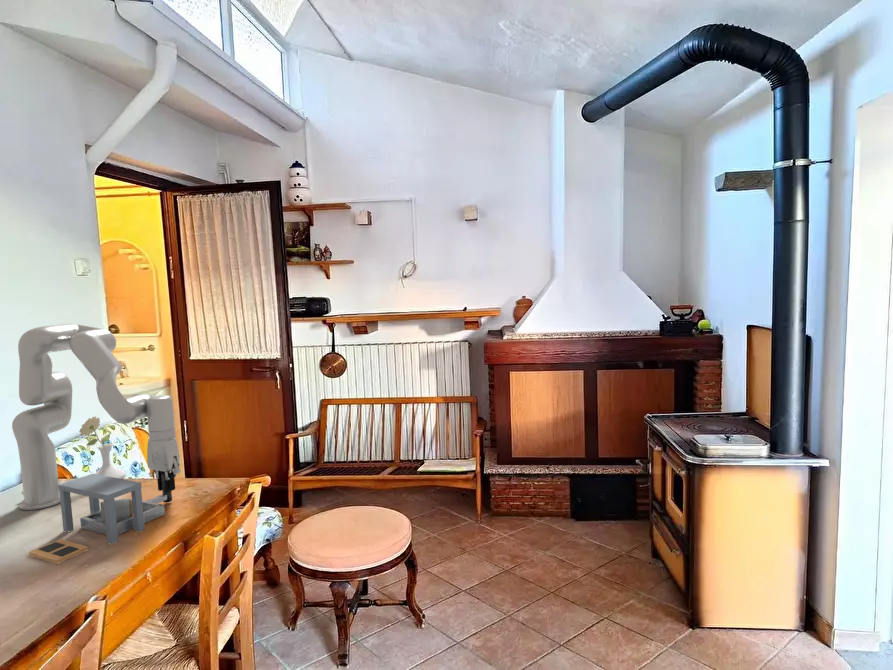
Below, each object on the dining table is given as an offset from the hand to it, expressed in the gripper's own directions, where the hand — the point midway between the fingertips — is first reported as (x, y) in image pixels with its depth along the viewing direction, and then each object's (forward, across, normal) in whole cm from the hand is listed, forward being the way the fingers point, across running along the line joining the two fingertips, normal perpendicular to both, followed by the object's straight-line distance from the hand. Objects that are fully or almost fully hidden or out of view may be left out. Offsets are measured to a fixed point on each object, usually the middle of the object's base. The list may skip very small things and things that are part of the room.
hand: (166, 489), depth 180 cm
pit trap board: (+5, +2, -35) cm, 35 cm away
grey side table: (+5, 0, -21) cm, 22 cm away
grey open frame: (+4, 0, -11) cm, 12 cm away
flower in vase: (+5, -39, +4) cm, 40 cm away
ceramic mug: (+5, -1, -16) cm, 17 cm away
